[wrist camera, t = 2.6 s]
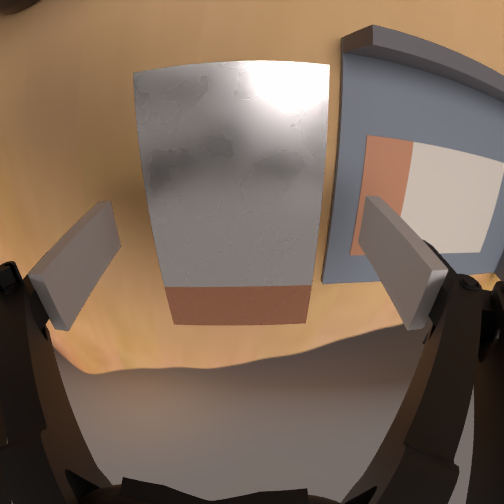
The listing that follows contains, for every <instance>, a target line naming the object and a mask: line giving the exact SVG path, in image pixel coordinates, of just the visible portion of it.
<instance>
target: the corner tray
mask: <svg viewBox="0 0 504 504" xmlns="http://www.w3.org/2000/svg"><path fill="white" fill-rule="evenodd" d="M366 196H379V197H380V198H381V199H382V200H383V201H385V202H386V203H387V204H388V205H389V206H390V207H391V208H392V209H393V210H394V211H395V212H396V213H397V214H398V215H399V216H400V217H401V218H402V219H403V220H404V221H405V222H406V223H407V224H408V225H409V226H410V227H411V228H412V229H413V231H414V232H415V233H416V234H417V235H418V236H419V237H420V238H421V239H422V240H425V241H426V242H428V243H429V244H431V245H432V246H433V247H434V248H435V249H436V250H437V251H438V253H440V254H441V256H442V257H443V259H445V260H446V261H447V262H448V263H449V265H450V266H451V267H452V268H453V269H454V270H455V272H456V273H457V274H465V275H472V274H483V273H493V272H494V273H495V274H496V275H497V276H498V277H499V279H500V280H501V281H504V76H503V75H501V74H500V73H498V72H496V71H494V70H492V69H491V68H489V67H487V66H485V65H483V64H481V63H479V62H477V61H475V60H473V59H471V58H469V57H466V56H464V55H462V54H460V53H457V52H455V51H453V50H450V49H448V48H446V47H443V46H440V45H438V44H435V43H433V42H430V41H427V40H424V39H421V38H418V37H415V36H412V35H409V34H406V33H403V32H399V31H396V30H392V29H388V28H384V27H381V26H376V25H370V26H368V27H365V28H363V29H361V30H358V31H356V32H354V33H351V34H349V35H347V36H344V37H342V38H341V88H340V112H339V130H338V144H337V157H336V169H335V179H334V189H333V199H332V207H331V216H330V224H329V231H328V239H327V246H326V253H325V260H324V266H323V272H322V279H321V281H322V284H332V283H354V282H374V281H381V280H380V279H379V277H378V275H377V273H376V272H375V270H374V268H373V267H372V265H371V263H370V262H369V260H368V258H367V257H366V255H365V253H364V252H363V250H362V248H361V247H360V245H359V244H358V240H359V234H360V229H361V223H362V217H363V211H364V204H365V198H366Z"/></svg>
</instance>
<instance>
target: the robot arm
mask: <svg viewBox="0 0 504 504" xmlns="http://www.w3.org/2000/svg"><path fill="white" fill-rule="evenodd" d="M37 1H39V0H0V14H12V13H15V12H18V11H21V10H23V9H25V8H27V7H29V6H31V5H32V4H34V3H36V2H37ZM358 244H359V245H360V247H361V248H362V250H363V252H364V253H365V255H366V257H367V258H368V260H369V262H370V263H371V265H372V267H373V268H374V270H375V272H376V273H377V275H378V277H379V279H380V280H381V282H382V284H383V286H384V287H385V289H386V291H387V293H388V295H389V296H390V298H391V300H392V302H393V304H394V306H395V307H396V309H397V311H398V313H399V315H400V317H401V319H402V321H403V323H404V325H405V327H406V328H407V330H414V329H420V328H423V327H424V325H425V323H426V321H427V319H428V317H430V319H431V320H432V322H433V324H432V326H431V328H430V330H429V332H428V334H427V336H426V338H425V340H424V341H423V344H425V346H424V348H423V352H422V354H421V357H420V360H419V363H418V365H417V368H416V370H415V373H414V376H413V378H412V381H411V383H410V386H409V388H408V390H407V393H406V395H405V397H404V400H403V402H402V404H401V406H400V408H399V410H398V413H397V415H396V417H395V419H394V421H393V423H392V425H391V427H390V429H389V431H388V433H387V435H386V437H385V438H384V440H383V442H382V444H381V446H380V448H379V449H378V451H377V453H376V455H375V456H374V458H373V460H372V462H371V463H370V465H369V467H368V468H367V470H366V471H365V473H364V475H363V476H362V477H361V478H360V480H359V481H358V482H357V483H356V484H355V485H354V486H353V488H352V489H351V490H350V492H349V493H348V494H347V495H346V497H345V498H344V499H343V501H342V502H341V503H339V502H337V501H334V500H331V499H328V498H324V497H319V496H314V495H308V492H307V488H306V489H297V490H284V491H265V492H257V493H252V494H248V495H243V496H239V497H233V498H228V499H222V500H216V501H208V500H204V499H201V498H198V497H195V496H192V495H189V494H186V493H183V492H180V491H177V490H175V489H172V488H170V487H167V486H164V485H159V484H153V483H148V482H143V481H138V480H133V479H129V478H125V477H123V480H122V484H120V485H112V484H111V483H110V481H109V480H108V479H107V478H106V476H105V475H104V474H103V473H102V472H101V471H100V470H99V469H98V467H97V465H96V463H95V462H94V459H93V457H92V455H91V453H90V451H89V449H88V447H87V445H86V443H85V440H84V438H83V436H82V433H81V431H80V429H79V426H78V424H77V421H76V419H75V416H74V414H73V411H72V409H71V406H70V403H69V400H68V397H67V394H66V392H65V389H64V385H63V382H62V379H61V376H60V372H59V369H58V365H57V362H56V358H55V354H54V350H53V346H52V342H51V338H50V333H49V330H48V328H47V327H46V325H45V324H46V323H47V321H48V320H49V319H50V321H51V323H52V324H53V326H54V328H55V329H57V330H64V331H69V330H70V328H71V326H72V324H73V322H74V321H75V319H76V317H77V315H78V314H79V312H80V310H81V308H82V307H83V305H84V303H85V302H86V300H87V298H88V297H89V295H90V293H91V292H92V290H93V289H94V287H95V285H96V284H97V282H98V281H99V279H100V277H101V276H102V274H103V273H104V271H105V270H106V268H107V267H108V265H109V263H110V262H111V260H112V259H113V257H114V256H115V255H116V253H117V252H118V250H119V249H120V247H121V244H120V240H119V236H118V232H117V227H116V223H115V219H114V214H113V209H112V204H111V201H102V202H98V203H97V204H96V205H95V206H94V207H93V208H91V209H90V210H89V211H88V212H87V213H86V214H85V215H84V216H83V217H82V218H81V219H80V220H79V221H78V222H77V223H76V224H74V225H73V226H72V227H71V228H70V229H69V230H68V231H67V232H66V233H65V234H64V235H63V236H62V237H61V238H60V239H59V241H58V242H57V243H56V244H55V245H54V246H53V247H52V248H51V249H50V250H49V251H48V252H47V253H46V254H45V255H44V256H43V257H42V258H41V260H39V262H38V263H37V264H36V265H35V266H34V267H33V268H32V269H31V271H30V272H29V273H28V274H27V275H26V276H25V278H24V279H22V277H21V275H20V273H19V270H18V268H17V266H16V263H15V262H13V261H9V262H6V263H3V264H2V265H0V504H12V502H13V504H448V502H449V499H450V497H451V495H452V492H453V490H454V487H455V485H456V482H457V479H458V476H459V466H457V465H456V464H454V457H455V453H456V451H457V448H458V444H459V441H460V438H461V434H462V431H463V428H464V424H465V420H466V416H467V412H468V408H469V404H470V399H471V395H472V390H473V384H474V441H473V455H472V465H471V474H470V481H469V487H468V493H467V500H466V504H504V281H498V282H496V284H495V286H494V288H493V290H492V291H488V290H483V289H482V287H481V285H480V284H479V282H478V281H476V280H475V279H474V278H472V277H471V276H469V275H465V274H457V273H456V272H455V270H454V269H453V268H452V267H451V266H450V265H449V263H448V262H447V261H446V260H445V259H443V257H442V256H441V254H440V253H438V251H437V250H436V249H435V248H434V247H433V246H432V245H431V244H429V243H428V242H426V241H425V240H422V239H421V238H420V237H419V236H418V235H417V234H416V233H415V232H414V231H413V229H412V228H411V227H410V226H409V225H408V224H407V223H406V222H405V221H404V220H403V219H402V218H401V217H400V216H399V215H398V214H397V213H396V212H395V211H394V210H393V209H392V208H391V207H390V206H389V205H388V204H387V203H386V202H385V201H383V200H382V199H381V198H380V197H379V196H366V198H365V204H364V211H363V217H362V223H361V229H360V234H359V240H358ZM498 335H499V338H497V337H498ZM7 441H8V443H7Z"/></svg>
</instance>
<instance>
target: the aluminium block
mask: <svg viewBox="0 0 504 504" xmlns="http://www.w3.org/2000/svg"><path fill="white" fill-rule="evenodd" d="M133 80H134V96H135V109H136V121H137V131H138V140H139V149H140V157H141V164H142V172H143V179H144V185H145V192H146V198H147V204H148V210H149V215H150V221H151V226H152V231H153V236H154V241H155V246H156V251H157V256H158V261H159V265H160V269H161V274H162V278H163V282H164V287H165V291H166V295H167V299H168V303H169V307H170V310H171V314H172V318H173V322H174V324H177V325H276V324H301V323H306V318H307V312H308V306H309V299H310V293H311V286H312V279H313V272H314V264H315V257H316V249H317V241H318V232H319V223H320V214H321V204H322V194H323V182H324V170H325V157H326V142H327V124H328V101H329V65H325V64H315V63H303V62H286V61H228V62H211V63H199V64H189V65H180V66H172V67H165V68H159V69H152V70H147V71H141V72H136V73H133Z"/></svg>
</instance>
